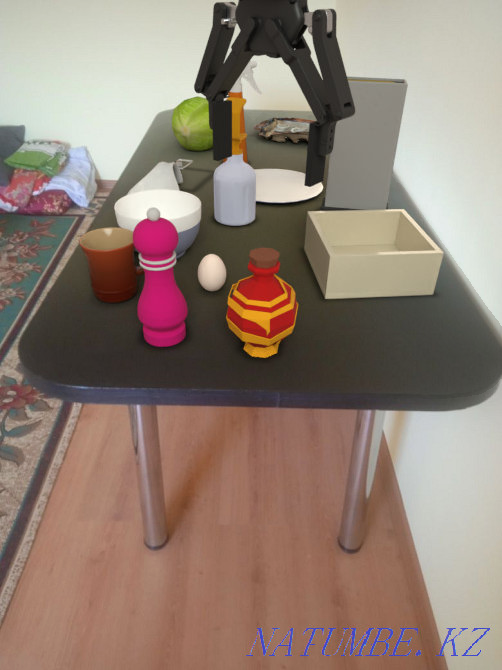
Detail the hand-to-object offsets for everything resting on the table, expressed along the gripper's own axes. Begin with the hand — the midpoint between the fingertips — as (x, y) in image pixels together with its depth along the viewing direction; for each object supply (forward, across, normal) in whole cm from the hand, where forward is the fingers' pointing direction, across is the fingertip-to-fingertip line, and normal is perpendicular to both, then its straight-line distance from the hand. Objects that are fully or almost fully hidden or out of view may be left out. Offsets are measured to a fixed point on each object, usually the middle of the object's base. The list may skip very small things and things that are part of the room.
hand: (265, 170), depth 61 cm
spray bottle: (+26, -58, +66) cm, 92 cm away
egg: (+26, -16, +8) cm, 32 cm away
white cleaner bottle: (+26, -34, +34) cm, 55 cm away
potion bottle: (+26, 0, 0) cm, 26 cm away
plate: (+26, -39, +55) cm, 73 cm away
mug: (+26, -27, -3) cm, 37 cm away
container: (+26, -14, +52) cm, 60 cm away
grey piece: (+26, -62, +99) cm, 120 cm away
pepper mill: (+26, -12, -7) cm, 30 cm away
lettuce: (+26, -78, +69) cm, 107 cm away
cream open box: (+26, 0, +31) cm, 40 cm away
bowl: (+26, -34, +12) cm, 44 cm away
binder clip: (+26, -62, +45) cm, 81 cm away
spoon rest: (+26, -54, +30) cm, 67 cm away
